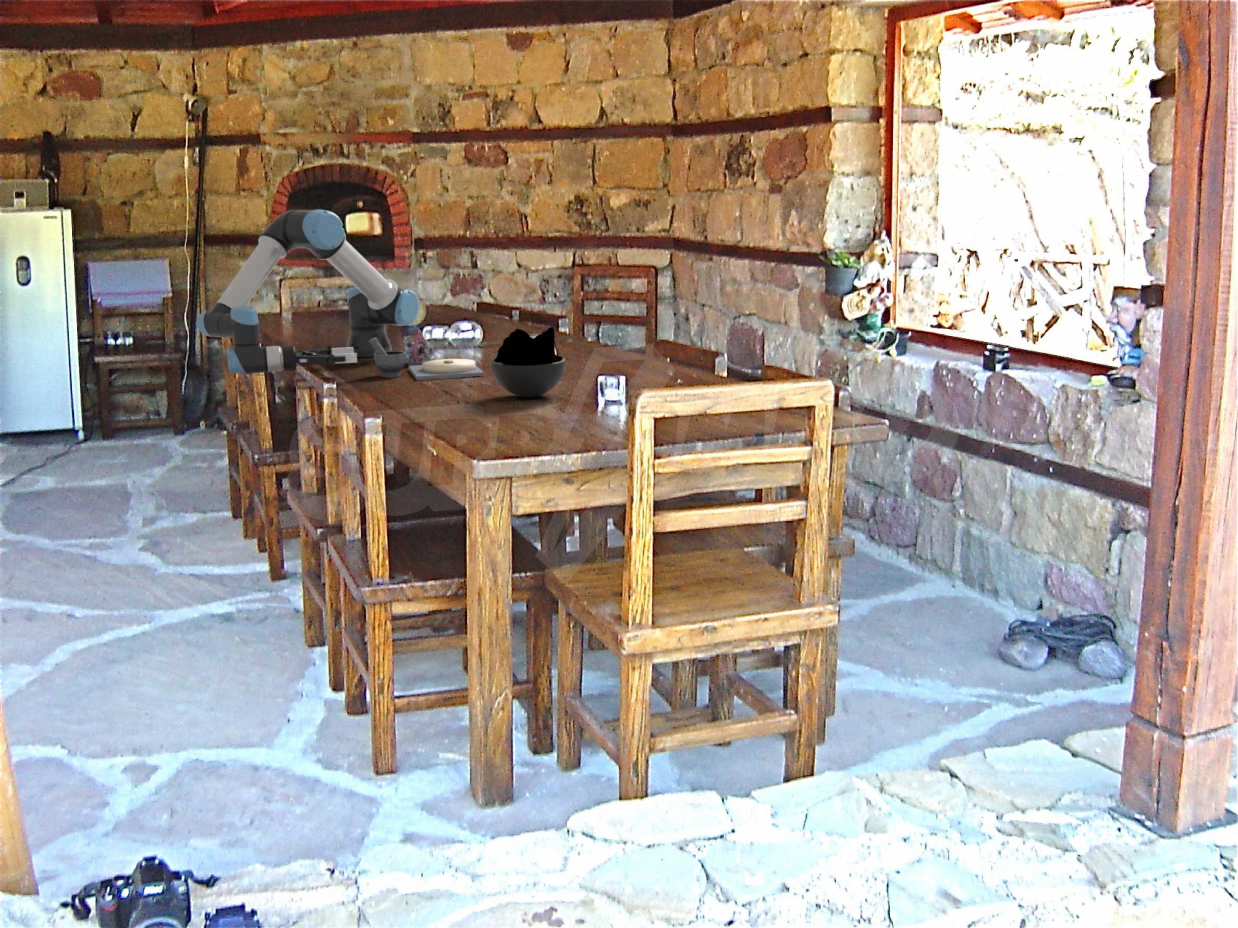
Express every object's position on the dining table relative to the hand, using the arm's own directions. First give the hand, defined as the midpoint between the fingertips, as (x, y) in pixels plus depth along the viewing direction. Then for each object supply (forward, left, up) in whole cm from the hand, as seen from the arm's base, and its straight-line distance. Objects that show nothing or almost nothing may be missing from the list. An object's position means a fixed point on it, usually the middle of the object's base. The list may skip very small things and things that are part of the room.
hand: (355, 354), depth 394 cm
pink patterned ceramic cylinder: (-20, +21, -7) cm, 30 cm away
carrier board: (+1, +27, -7) cm, 28 cm away
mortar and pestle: (0, +10, -7) cm, 12 cm away
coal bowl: (+52, +43, -7) cm, 68 cm away
